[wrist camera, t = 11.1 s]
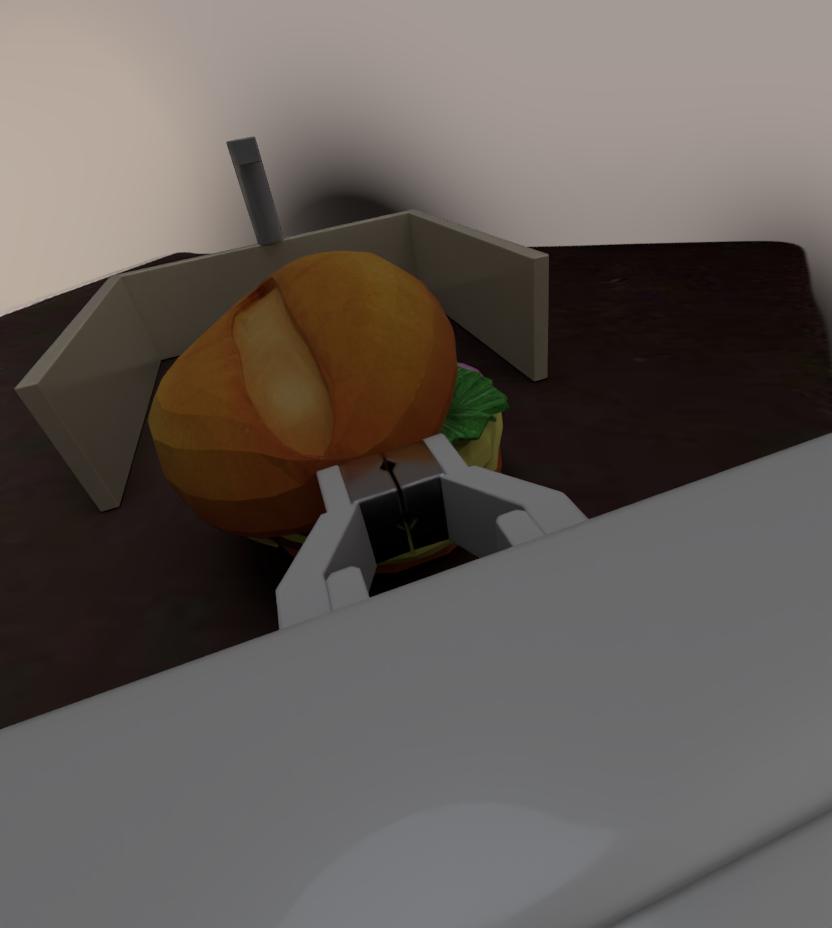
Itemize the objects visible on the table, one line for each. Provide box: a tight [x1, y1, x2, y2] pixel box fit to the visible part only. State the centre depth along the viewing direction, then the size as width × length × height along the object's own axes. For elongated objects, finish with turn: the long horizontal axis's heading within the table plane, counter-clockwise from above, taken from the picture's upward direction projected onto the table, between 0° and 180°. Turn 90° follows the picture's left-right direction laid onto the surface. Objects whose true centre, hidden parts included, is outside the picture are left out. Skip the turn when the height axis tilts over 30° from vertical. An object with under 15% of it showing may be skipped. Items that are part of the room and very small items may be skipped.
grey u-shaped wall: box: [15, 137, 549, 512], centre depth 27 cm, size 19×22×12 cm
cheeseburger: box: [148, 251, 510, 574], centre depth 16 cm, size 10×11×10 cm
